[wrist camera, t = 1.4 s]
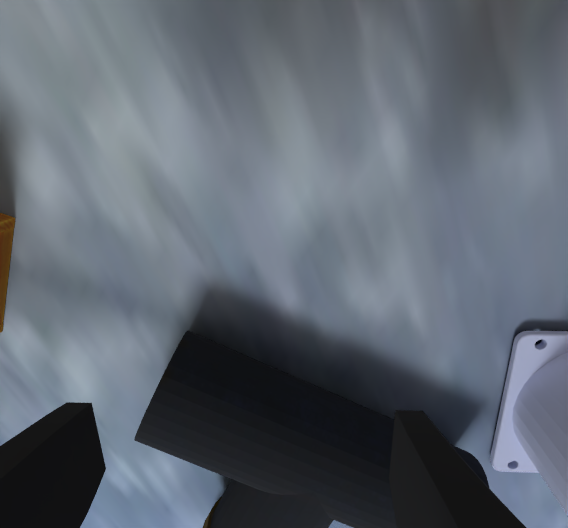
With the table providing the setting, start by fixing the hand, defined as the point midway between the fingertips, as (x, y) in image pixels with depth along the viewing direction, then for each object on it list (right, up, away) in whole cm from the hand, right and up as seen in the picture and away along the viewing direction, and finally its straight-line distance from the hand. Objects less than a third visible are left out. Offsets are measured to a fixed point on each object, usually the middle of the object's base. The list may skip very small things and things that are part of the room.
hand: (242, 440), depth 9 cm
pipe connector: (+1, -6, +13) cm, 14 cm away
